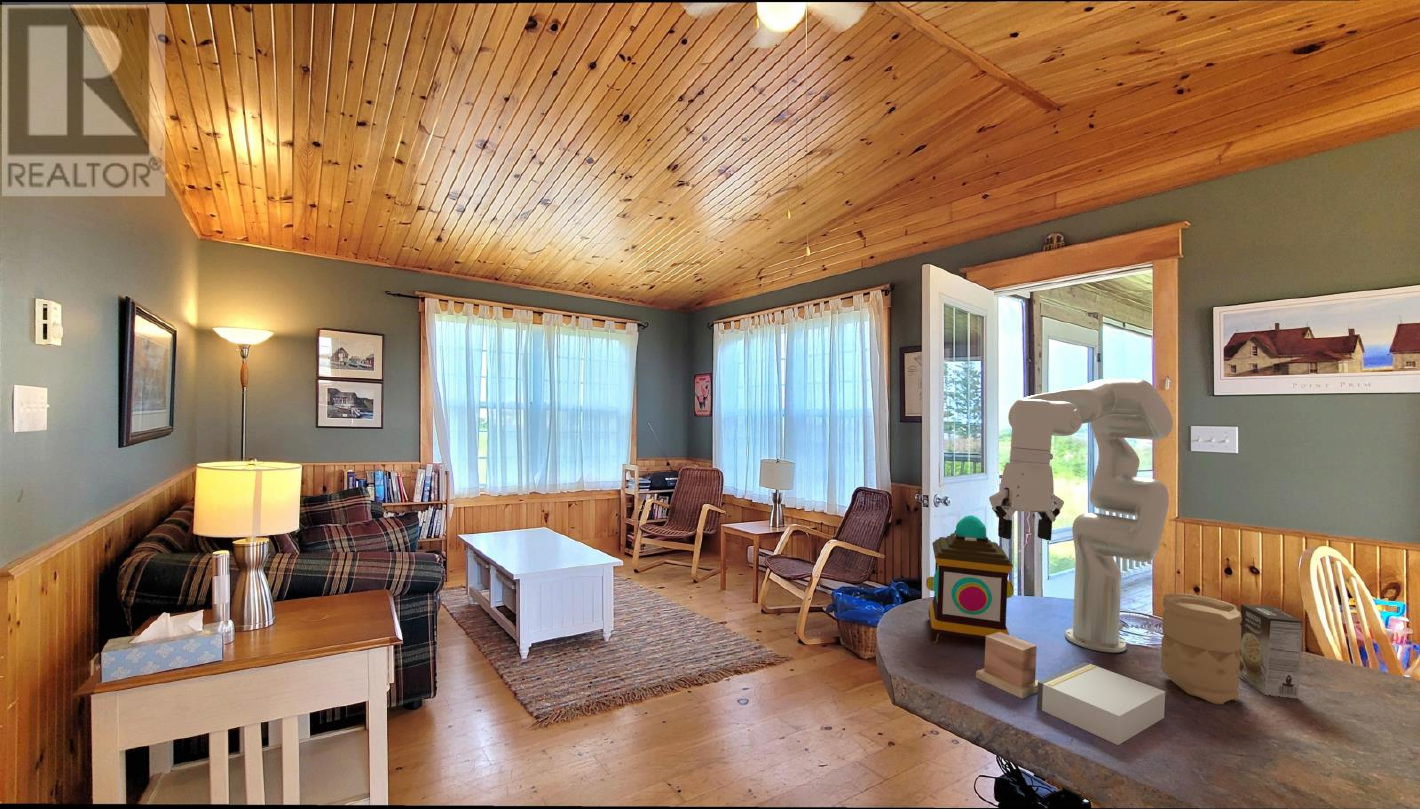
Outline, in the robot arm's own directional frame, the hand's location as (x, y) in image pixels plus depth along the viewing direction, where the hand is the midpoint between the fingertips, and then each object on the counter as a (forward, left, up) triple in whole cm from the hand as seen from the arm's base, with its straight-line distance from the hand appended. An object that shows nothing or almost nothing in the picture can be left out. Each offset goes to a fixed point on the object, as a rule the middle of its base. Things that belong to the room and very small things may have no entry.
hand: (1024, 538), depth 127 cm
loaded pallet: (+5, +1, -30) cm, 30 cm away
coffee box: (-43, +29, -30) cm, 60 cm away
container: (-28, +22, -30) cm, 46 cm away
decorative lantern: (-10, -19, -30) cm, 37 cm away
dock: (+1, +17, -29) cm, 34 cm away
